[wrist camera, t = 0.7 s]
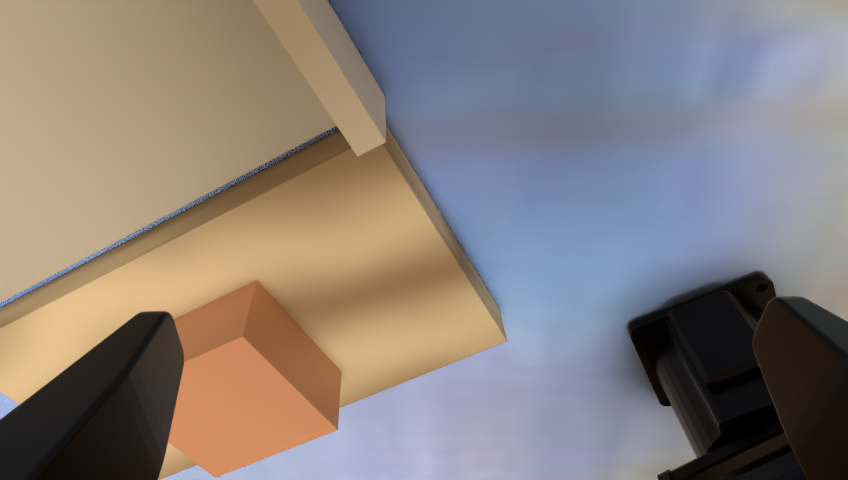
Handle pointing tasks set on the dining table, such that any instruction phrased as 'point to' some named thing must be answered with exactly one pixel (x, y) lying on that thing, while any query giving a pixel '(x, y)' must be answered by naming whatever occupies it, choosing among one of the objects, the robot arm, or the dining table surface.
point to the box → (157, 112)
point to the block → (249, 383)
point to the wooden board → (281, 275)
